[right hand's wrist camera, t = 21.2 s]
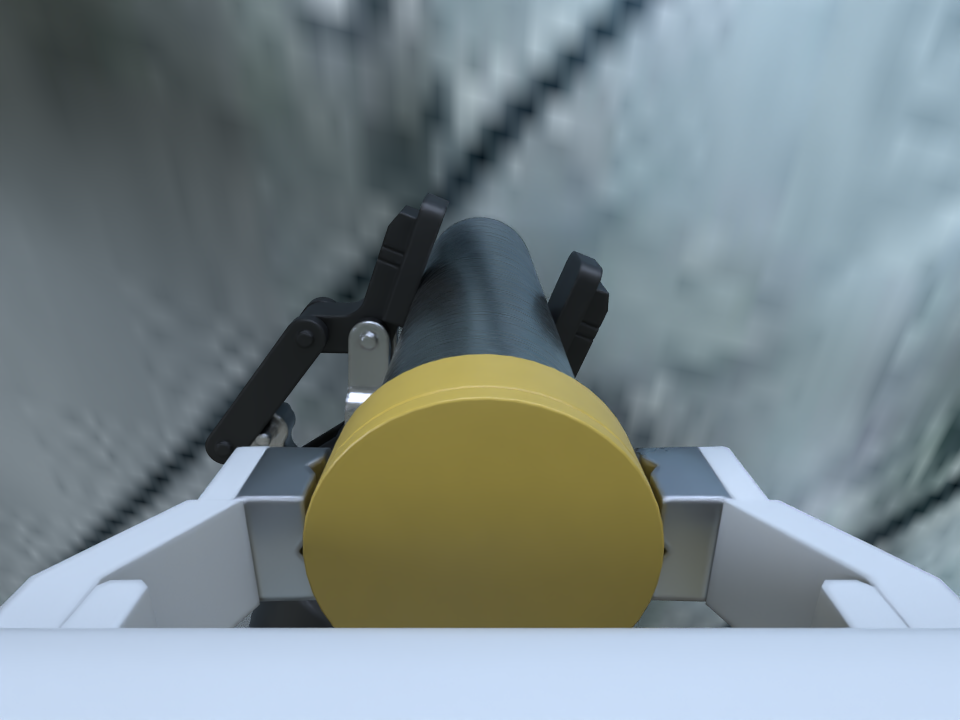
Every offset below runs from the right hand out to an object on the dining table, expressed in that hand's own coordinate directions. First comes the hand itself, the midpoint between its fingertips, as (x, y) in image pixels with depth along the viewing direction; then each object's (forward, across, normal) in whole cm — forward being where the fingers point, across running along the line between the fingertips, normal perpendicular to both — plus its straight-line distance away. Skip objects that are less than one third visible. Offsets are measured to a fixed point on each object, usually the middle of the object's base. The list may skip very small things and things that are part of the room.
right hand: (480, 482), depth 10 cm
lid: (-2, 0, 0) cm, 2 cm away
